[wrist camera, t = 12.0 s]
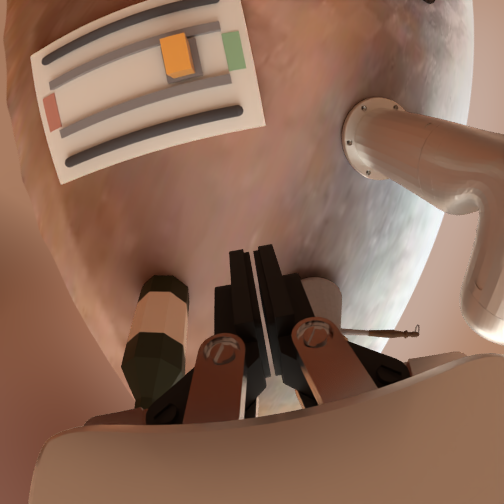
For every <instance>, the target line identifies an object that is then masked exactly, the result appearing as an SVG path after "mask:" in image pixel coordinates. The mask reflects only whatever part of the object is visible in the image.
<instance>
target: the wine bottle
mask: <svg viewBox="0 0 504 504" xmlns="http://www.w3.org/2000/svg"><path fill="white" fill-rule="evenodd" d="M188 311H189V293H188V287H187V286H186V285H184V284H183V283H182V282H181V281H179V280H178V279H177V278H176V277H174V276H153V277H152V278H151V279H150V280H149V281H148V282H147V283H146V284H145V285H144V286H143V287H142V290H141V293H140V297H139V300H138V304H137V307H136V310H135V314H134V318H133V321H132V325H131V329H130V333H129V336H128V340H127V344H126V348H125V352H124V357H123V361H122V365H121V368H122V370H123V373H124V375H125V378H126V380H127V382H128V385H129V387H130V389H131V391H132V394H133V396H134V398H135V400H136V401H135V408H140V407H142V408H143V410H144V409H148V408H149V407H150V406H151V405H152V403H153V402H155V401H156V400H157V399H158V398H159V397H160V396H162V395H163V394H164V393H165V392H166V391H168V390H169V389H170V388H171V387H172V386H173V385H175V384H176V383H177V382H178V381H179V380H180V379H181V378H183V377H184V376H185V358H186V340H187V325H188ZM135 408H134V409H135Z"/></svg>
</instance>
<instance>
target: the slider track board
mask: <svg viewBox="0 0 504 504" xmlns="http://www.w3.org/2000/svg"><path fill="white" fill-rule="evenodd" d="M176 1H180V0H147V1H144V2H141V3H138V4H135V5H132V6H130V7H127V8H124V9H122V10H119V11H116V12H114V13H111V14H109V15H107V16H104V17H102V18H100V19H97V20H95V21H93V22H91V23H89V24H87V25H84V26H82V27H80V28H78V29H76V30H74V31H73V32H71V33H69V34H67V35H65V36H63V37H61V38H60V39H58V40H56V41H54V42H53V43H51V44H49V45H48V46H46V47H44V48H43V49H41V50H39V51H38V52H36V53H35V54H33V55H32V56H31V65H32V72H33V78H34V84H35V90H36V95H37V100H38V105H39V110H40V114H41V119H42V123H43V127H44V131H45V135H46V138H47V142H48V146H49V149H50V152H51V156H52V159H53V162H54V166H55V169H56V172H57V175H58V178H59V181H60V184H61V185H62V184H64V183H67V182H69V181H72V180H74V179H77V178H79V177H82V176H84V175H87V174H89V173H92V172H95V171H97V170H100V169H103V168H105V167H108V166H111V165H114V164H117V163H120V162H123V161H126V160H129V159H132V158H135V157H138V156H141V155H144V154H148V153H151V152H154V151H158V150H161V149H165V148H168V147H172V146H175V145H179V144H183V143H187V142H191V141H195V140H199V139H203V138H207V137H212V136H216V135H221V134H225V133H230V132H235V131H240V130H245V129H251V128H256V127H262V126H266V125H265V120H264V114H263V108H262V103H261V98H260V92H259V87H258V82H257V77H256V71H255V66H254V61H253V56H252V51H251V47H250V42H249V37H248V32H247V28H246V23H245V18H244V14H243V9H242V5H241V1H240V0H220V1H219V2H217V3H215V4H209V5H204V6H199V7H194V8H190V9H185V10H181V11H177V12H173V13H170V14H166V15H162V16H159V17H156V18H152V19H149V20H146V21H143V22H140V23H137V24H134V25H131V26H129V27H126V28H123V29H121V30H118V31H116V32H113V33H111V34H108V35H106V36H103V37H101V38H99V39H97V40H94V41H92V42H90V43H88V44H86V45H84V46H82V47H80V48H78V49H76V50H74V51H72V52H70V53H68V54H66V55H64V56H62V57H60V58H59V59H57V60H55V61H53V62H52V63H50V64H48V65H42V62H41V61H42V59H43V57H45V56H46V55H48V54H50V53H51V52H53V51H55V50H56V49H58V48H60V47H62V46H64V45H66V44H67V43H69V42H71V41H73V40H75V39H77V38H79V37H81V36H83V35H85V34H87V33H89V32H91V31H94V30H96V29H98V28H100V27H103V26H105V25H107V24H110V23H112V22H115V21H117V20H120V19H122V18H125V17H128V16H130V15H133V14H136V13H139V12H142V11H145V10H148V9H151V8H155V7H158V6H161V5H165V4H169V3H172V2H176ZM180 33H185V35H186V38H187V39H192V38H196V43H197V47H198V52H199V57H200V62H201V67H202V71H203V76H199V77H195V78H191V79H187V80H183V81H179V82H175V83H171V84H168V82H167V77H166V73H165V68H164V63H163V58H162V53H161V48H160V47H161V44H160V39H162V38H165V37H168V36H172V35H176V34H180ZM234 105H240V106H242V108H243V114H242V115H241V116H238V117H233V118H228V119H223V120H218V121H214V122H209V123H205V124H201V125H196V126H192V127H188V128H184V129H181V130H177V131H173V132H170V133H166V134H163V135H159V136H156V137H153V138H149V139H146V140H143V141H140V142H137V143H134V144H131V145H128V146H125V147H122V148H119V149H116V150H113V151H111V152H108V153H105V154H102V155H100V156H97V157H95V158H92V159H90V160H87V161H85V162H82V163H80V164H77V165H75V166H73V167H70V168H69V167H66V165H65V160H66V159H67V158H68V157H70V156H72V155H74V154H77V153H79V152H81V151H84V150H86V149H89V148H91V147H94V146H96V145H99V144H101V143H104V142H106V141H109V140H112V139H114V138H117V137H120V136H123V135H126V134H128V133H131V132H134V131H137V130H140V129H143V128H147V127H150V126H153V125H156V124H160V123H163V122H167V121H170V120H174V119H177V118H181V117H185V116H189V115H193V114H197V113H201V112H205V111H210V110H214V109H219V108H224V107H229V106H234Z"/></svg>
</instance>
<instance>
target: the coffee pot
mask: <svg viewBox="0 0 504 504" xmlns="http://www.w3.org/2000/svg"><path fill="white" fill-rule="evenodd" d="M301 282H302V285H303V287H304V290H305V292H306V295H307V297H308V300H309V302H310V305H311V307H312V310H313V313H314V315H315V317H322V318H326V319H328V320H330V321H332V322H333V323H334V324H335V325H336V326H337V328H338V329H339V330H340V332H341V333H342V335H343V336H344V335H368V336H375V337H386V338H395V337H405V338H406V337H408V336H411V337H417V336H419V325H417V326H418V332H416V328H417V326H416V328H415V332H407V330H406V331H404V332H401V331H395V330H369V331H366V330H353V329H342V328H341V309H342V295H341V292H340V290H339V288H338V287H337V286H336V285H335V284H334V283H333V282H331V281H329V280H327V279H325V278H320V277H309V278H305V279H302V280H301ZM344 338H345V339H346V341H348V339H347V338H346V337H345V336H344Z"/></svg>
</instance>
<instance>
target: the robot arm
mask: <svg viewBox="0 0 504 504" xmlns="http://www.w3.org/2000/svg"><path fill="white" fill-rule="evenodd" d="M361 107H362V109H361ZM393 107H394V108H393ZM347 141H348V143H347ZM342 145H343V150H344V153H345V156H346V158H347V160H348V162H349V163H350V165H351V166H352V167H353V168H354V169H355V170H356V171H357V172H359V173H360V174H361V175H363V176H365V177H367V178H370V179H373V180H385V179H391V180H393V181H395V182H396V183H398V184H400V185H401V186H403V187H405V188H406V189H408V190H410V191H411V192H413V193H414V194H416V195H418V196H419V197H421V198H422V199H424V200H426V201H427V202H429V203H430V204H432V205H433V206H435V207H436V208H438V209H440V210H441V211H443V212H446V213H448V214H453V215H465V214H470V213H473V212H476V211H478V210H479V220H478V225H477V230H476V238H475V242H474V246H473V249H472V253H471V256H470V260H469V264H468V267H467V270H466V273H465V276H464V280H463V284H462V287H461V292H460V309H461V312H462V315H463V318H464V320H465V321H466V323H467V324H468V325H469V327H470V328H471V329H472V330H473V331H475V332H476V333H477V334H478V335H480V336H481V337H483V338H485V339H487V340H489V341H491V342H494V343H497V344H500V345H504V134H499V133H494V132H489V131H485V130H481V129H478V128H474V127H470V126H466V125H463V124H459V123H455V122H451V121H447V120H443V119H438V118H434V117H430V116H425V115H420V114H415V113H410V112H406V111H405V110H404V108H402V107H401V106H400V105H399V104H398V103H396V102H394V101H393V100H390V99H387V98H381V97H372V98H368V99H365V100H363V101H361V102H359V103H358V104H357V105H356V106H354V107H353V108H352V110H351V111H350V112H349V114H348V116H347V118H346V119H345V122H344V126H343V130H342ZM366 171H367V172H366ZM253 252H254V258H255V265H256V271H257V277H258V283H259V289H260V295H261V301H262V307H263V313H264V318H265V323H266V328H267V333H268V338H269V344H270V349H271V354H272V359H273V364H274V369H275V374H276V376H278V375H282V380H283V383H284V384H286V385H288V386H290V387H292V388H294V389H295V393H296V396H297V398H298V400H299V402H300V405H301V407H302V409H300V410H296V411H291V412H285V413H280V414H274V415H268V416H262V417H258V409H259V398H258V396H259V394H260V393H261V392H262V391H263V390H264V389H265V388H266V380H265V378H266V377H271V374H270V368H269V363H268V357H267V351H266V345H265V340H264V334H263V328H262V322H261V317H260V311H259V306H258V300H257V294H256V289H255V283H254V278H253V272H252V266H251V261H250V255H249V252H246V253H244V252H243V249H241V250H236V251H230V252H229V257H230V273H231V285H226V286H220V287H215V306H214V335H213V336H211V337H209V338H208V339H206V340H205V341H204V342H203V343H202V344H201V346H200V348H199V351H198V355H197V359H196V364H195V367H194V368H193V369H192V370H191V371H189V372H188V373H187V374H186V375H185V376H184V377H183V378H181V379H180V380H179V381H178V382H177V383H176V384H175V385H173V386H172V387H171V388H170V389H169V390H168V391H166V392H165V393H164V394H163V395H162V396H160V397H159V398H158V399H157V400H156V401H155V402H153V403H152V405H151V406H150V407H149V408H148V409H144V410H143V408H142V407H140V408H135V409H131V410H126V411H121V412H116V413H110V414H105V415H99V416H95V417H92V418H90V419H89V420H88V421H86V423H85V424H84V426H82V427H76V428H72V429H69V430H65V431H62V432H59V433H57V434H55V435H54V436H52V437H50V438H49V439H48V440H47V441H46V442H45V444H44V445H43V447H42V449H41V451H40V453H39V456H38V459H37V462H36V465H35V469H34V473H33V478H32V482H31V488H30V494H29V503H28V504H504V355H502V354H494V353H489V354H477V355H472V356H466V355H465V354H464V353H461V352H450V353H444V354H438V355H432V356H426V357H419V358H413V359H409V360H408V362H405V363H403V362H401V361H399V360H397V359H395V358H392V357H390V356H387V355H384V354H381V353H379V352H376V351H373V350H370V349H368V348H365V347H362V346H360V345H357V344H354V343H352V342H349V341H346V339H345V338H344V336H343V335H342V333H341V332H340V330H339V329H338V328H337V326H336V325H335V324H334V323H333V322H332V321H330V320H328V319H326V318H322V317H315V315H314V313H313V310H312V307H311V305H310V302H309V300H308V297H307V295H306V292H305V290H304V287H303V285H302V282H301V280H300V277H299V275H298V273H294V274H289V275H283V276H282V274H281V271H280V267H279V264H278V261H277V258H276V255H275V252H274V249H273V246H272V244H270V245H264V246H259V247H258V250H257V251H253Z"/></svg>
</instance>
